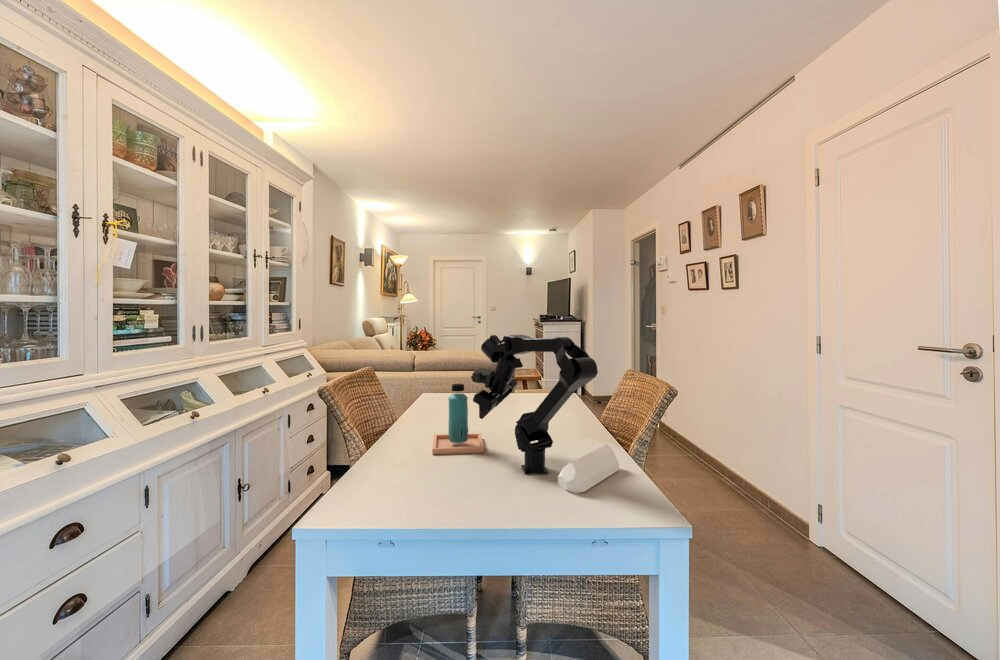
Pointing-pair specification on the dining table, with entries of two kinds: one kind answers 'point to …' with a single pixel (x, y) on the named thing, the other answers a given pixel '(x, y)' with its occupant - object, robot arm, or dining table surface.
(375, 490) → the dining table surface
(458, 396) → the beverage bottle
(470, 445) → the terracotta tray
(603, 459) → the crystal
